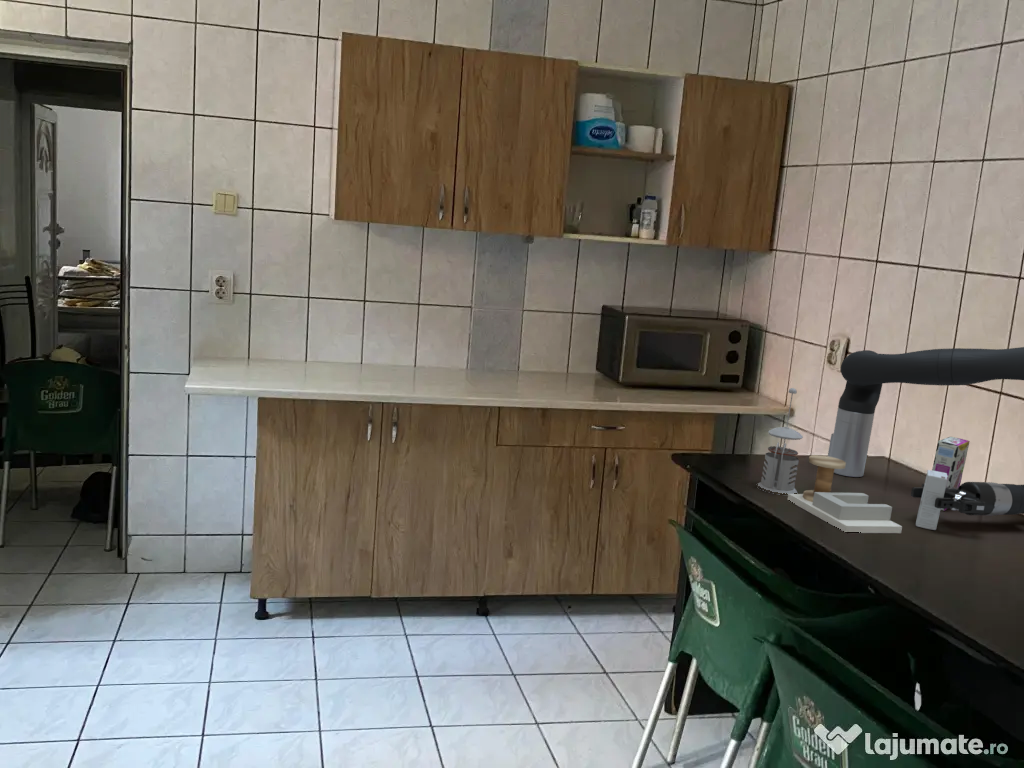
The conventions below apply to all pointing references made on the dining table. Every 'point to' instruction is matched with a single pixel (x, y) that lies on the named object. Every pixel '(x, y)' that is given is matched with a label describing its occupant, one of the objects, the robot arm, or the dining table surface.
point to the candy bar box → (951, 460)
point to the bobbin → (823, 474)
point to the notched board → (846, 523)
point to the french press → (781, 461)
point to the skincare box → (931, 499)
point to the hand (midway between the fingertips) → (924, 497)
